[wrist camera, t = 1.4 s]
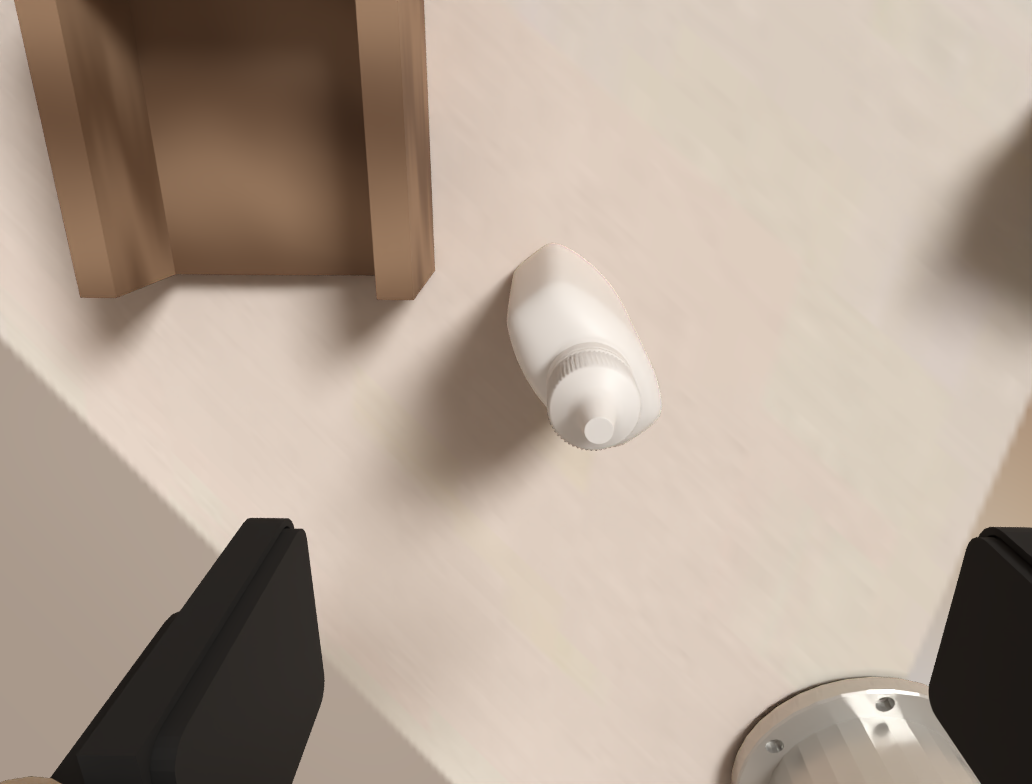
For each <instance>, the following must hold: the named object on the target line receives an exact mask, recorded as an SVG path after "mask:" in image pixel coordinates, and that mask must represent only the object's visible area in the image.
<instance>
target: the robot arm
mask: <svg viewBox="0 0 1032 784" xmlns="http://www.w3.org/2000/svg"><path fill="white" fill-rule="evenodd" d="M323 691H324V670H323V662H322V654H321V646H320V639H319V631H318V623H317V615H316V607H315V599H314V591H313V583H312V575H311V567H310V560H309V552H308V544H307V537H306V533H305V531H304V530H303V529H294V525H293V523H292V521H291V520H290V519H288V518H249V519H247V520H246V521H245V522H244V523H243V524H242V526H241V527H240V529H239V530H238V531H237V533H236V534H235V536H234V537H233V538H232V540H231V541H230V542H229V544H228V545H227V547H226V548H225V549H224V551H223V552H222V554H221V555H220V556H219V558H218V559H217V561H216V562H215V563H214V565H213V566H212V568H211V569H210V570H209V572H208V573H207V575H206V576H205V577H204V579H203V580H202V581H201V583H200V584H199V585H198V587H197V588H196V590H195V591H194V593H193V594H192V595H191V597H190V598H189V599H188V601H187V602H186V604H185V605H184V606H183V608H182V609H181V610H180V611H179V612H177V613H175V614H173V615H171V616H170V617H169V618H168V620H166V622H165V623H164V624H163V625H162V627H161V628H160V629H159V631H158V632H157V634H156V635H155V636H154V638H153V639H152V640H151V642H150V643H149V644H148V646H147V647H146V648H145V650H144V651H143V653H142V654H141V655H140V657H139V658H138V659H137V661H136V662H135V664H134V665H133V666H132V667H131V669H130V670H129V672H128V673H127V674H126V676H125V677H124V678H123V680H122V681H121V683H120V684H119V685H118V686H117V688H116V689H115V691H114V692H113V693H112V695H111V696H110V697H109V699H108V700H107V701H106V703H105V704H104V706H103V707H102V708H101V710H100V711H99V712H98V714H97V715H96V716H95V718H94V719H93V721H92V722H91V723H90V725H89V726H88V727H87V729H86V730H85V731H84V733H83V734H82V735H81V737H80V738H79V739H78V741H77V742H76V744H75V745H74V746H73V748H72V749H71V750H70V752H69V753H68V754H67V756H66V757H65V759H64V760H63V761H62V763H61V764H60V765H59V767H58V768H57V769H56V771H55V772H54V774H53V775H52V776H51V778H43V777H33V776H30V777H23V778H17V779H12V780H5V781H3V782H0V784H292V782H293V779H294V776H295V774H296V771H297V768H298V766H299V763H300V760H301V757H302V755H303V752H304V749H305V746H306V743H307V741H308V738H309V735H310V732H311V730H312V727H313V724H314V721H315V719H316V716H317V713H318V711H319V708H320V705H321V702H322V698H323ZM731 784H1032V528H1025V527H989V528H986V529H984V530H983V531H982V533H980V535H979V537H976V538H973V539H972V540H971V541H970V542H969V544H968V546H967V549H966V552H965V556H964V560H963V563H962V567H961V571H960V574H959V578H958V581H957V585H956V589H955V593H954V596H953V600H952V604H951V607H950V611H949V615H948V618H947V622H946V625H945V629H944V633H943V636H942V640H941V644H940V648H939V651H938V654H937V658H936V662H935V665H934V669H933V673H932V677H931V680H930V684H929V686H927V685H924V684H922V683H918V682H913V681H909V680H904V679H899V678H886V677H865V678H853V679H845V680H841V681H836V682H832V683H828V684H824V685H820V686H818V687H815V688H813V689H810V690H808V691H805V692H803V693H800V694H798V695H796V696H794V697H793V698H791V699H789V700H788V701H786V702H784V703H782V704H781V705H779V706H777V707H776V708H775V709H774V710H772V711H771V712H770V713H769V714H768V715H766V716H765V717H764V718H763V719H761V720H760V721H759V722H758V724H757V725H756V726H755V727H754V728H753V729H752V731H751V732H750V733H749V734H748V735H747V736H746V738H745V740H744V742H743V743H742V745H741V747H740V749H739V751H738V753H737V754H736V758H735V762H734V765H733V769H732V782H731Z"/></svg>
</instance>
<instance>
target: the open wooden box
mask: <svg viewBox="0 0 1032 784" xmlns="http://www.w3.org/2000/svg"><path fill="white" fill-rule="evenodd" d="M14 2H15V6H16V11H17V15H18V20H19V24H20V29H21V33H22V38H23V42H24V47H25V51H26V56H27V60H28V65H29V69H30V74H31V78H32V83H33V87H34V92H35V96H36V101H37V105H38V110H39V114H40V119H41V123H42V128H43V132H44V137H45V141H46V146H47V150H48V154H49V159H50V163H51V168H52V172H53V177H54V181H55V186H56V190H57V195H58V199H59V204H60V208H61V213H62V217H63V222H64V226H65V231H66V235H67V240H68V244H69V249H70V253H71V258H72V262H73V267H74V271H75V276H76V280H77V285H78V289H79V294H80V298H117V297H120V296H122V295H125V294H127V293H130V292H132V291H135V290H137V289H140V288H142V287H145V286H147V285H150V284H152V283H155V282H157V281H160V280H162V279H165V278H167V277H170V276H172V275H175V274H223V275H375V282H376V296H377V300H414V299H415V297H416V296H417V294H418V293H419V292H420V290H421V289H422V288H423V286H424V285H425V284H426V282H427V281H428V279H429V278H430V277H431V275H432V274H433V273H434V271H435V262H434V237H433V213H432V188H431V164H430V139H429V115H428V90H427V66H426V41H425V17H424V0H14Z"/></svg>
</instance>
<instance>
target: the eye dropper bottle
mask: <svg viewBox="0 0 1032 784" xmlns="http://www.w3.org/2000/svg"><path fill="white" fill-rule="evenodd" d="M507 327H508V332H509V337H510V340H511V344H512V347H513V350H514V353H515V356H516V358H517V361H518V363H519V365H520V368H521V370H522V372H523V374H524V376H525V378H526V379H527V381H528V383H529V384H530V386H531V388H532V389H533V390H534V392H535V393H536V395H537V396H538V397H539V399H540V400H541V401H542V403H543V404H544V405H545V406H546V407H547V411H548V416H549V420H550V424H551V425H552V428H553V429H555V432H556V433H557V434H558V436H561V439H564V442H568V444H571V445H572V446H576V447H577V448H581V450H582V449H585V450H591V451H592V450H595V451H597V450H602V449H607V448H611V447H616V446H620V445H623V444H625V443H627V442H628V441H630V440H632V439H633V438H635V437H636V436H638V435H639V434H641V433H642V432H643V431H645V430H646V429H648V428H649V427H650V426H651V425H653V424H654V423H655V422H656V420H657V419H658V418H659V416H660V414H661V409H662V402H661V395H660V390H659V385H658V382H657V378H656V375H655V372H654V369H653V367H652V364H651V362H650V360H649V357H648V355H647V353H646V351H645V349H644V347H643V345H642V342H641V340H640V338H639V336H638V334H637V332H636V330H635V328H634V326H633V324H632V322H631V320H630V318H629V316H628V313H627V311H626V309H625V307H624V305H623V304H622V302H621V300H620V298H619V296H618V295H617V293H616V292H615V290H614V289H613V287H612V286H611V285H610V283H609V282H608V281H607V280H606V278H605V277H604V276H603V275H602V274H601V273H600V272H599V271H598V270H597V269H596V268H595V267H594V266H593V265H592V264H590V263H589V262H588V261H587V260H586V259H584V258H583V257H582V256H580V255H579V254H577V253H576V252H574V251H572V250H571V249H569V248H567V247H565V246H563V245H561V244H557V243H550V244H547V245H545V246H543V247H542V248H540V249H539V250H538V251H536V252H535V253H534V254H533V255H531V256H530V257H529V258H528V259H526V260H525V261H524V262H523V263H522V264H520V265H519V266H518V267H517V269H516V270H515V272H514V273H513V279H512V284H511V290H510V297H509V303H508V313H507Z"/></svg>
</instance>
